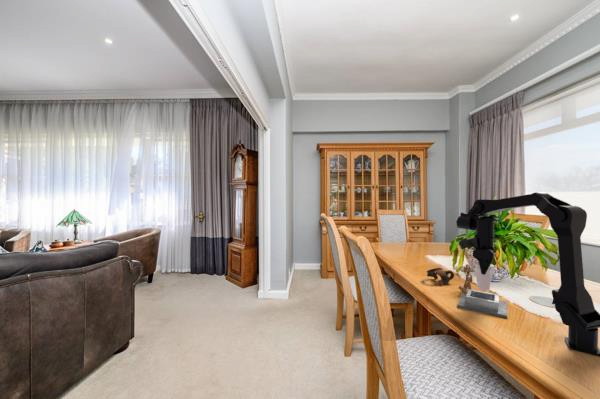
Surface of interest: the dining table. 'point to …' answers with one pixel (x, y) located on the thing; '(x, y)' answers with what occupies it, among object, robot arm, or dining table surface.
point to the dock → (483, 303)
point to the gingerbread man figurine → (467, 279)
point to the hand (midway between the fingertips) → (483, 272)
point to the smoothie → (483, 277)
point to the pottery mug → (441, 273)
